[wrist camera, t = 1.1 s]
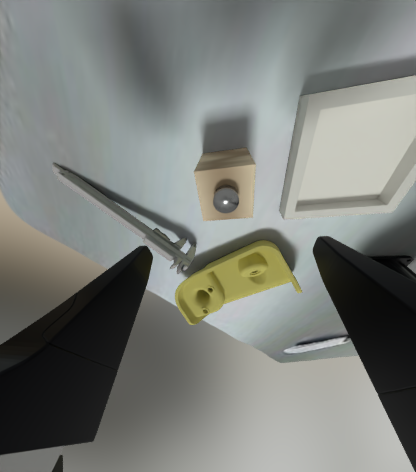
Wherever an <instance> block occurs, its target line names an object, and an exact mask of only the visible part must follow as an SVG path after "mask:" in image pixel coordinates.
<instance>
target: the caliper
mask: <svg viewBox="0 0 416 472" xmlns="http://www.w3.org/2000/svg"><path fill="white" fill-rule="evenodd" d="M53 172H54V173H55V174H56V175H57V179H58V180H59V181H61V182H62V183H64V184H65V185H66V186H68V187H69V188H71V189H72V190H74V191H75V192H76V193H78V194H79V195H81V196H82V197H84V198H85V199H86V200H88V201H89V202H91V203H92V204H93V205H95V206H96V207H98V208H99V209H101V210H102V211H104V212H105V213H106V214H108V215H109V216H111V217H112V218H114V219H115V220H116V221H118V222H119V223H121V224H122V225H124V226H125V227H126V228H128V229H129V230H131V231H132V232H134V233H135V234H136V235H138V236H139V237H141V238H142V239H144V241H143V242H144V243H145V244H146V245H148V246H149V247H151V248H152V249H153V250H155V251H156V252H158V253H159V254H160V255H162V256H163V257H165V258H166V259H167V260H169V261H172V260H174V264H173V265H172V266H171V267H170V269H172V268H175V267H176V266H177V265H178V264H179V265H178V267H177V274H179V273H180V272H181V271H182V269H183V270H184V271H185V270H186V269H187V268H188V267H189V266H190V264H191V262H192V261H193V259H194V256H195V251H196V244H195V243H194V244H193V245H192V246H191V247H190V249H189V250H188V252H187V253H186V254H185V253H183V252H182V251H181V250H180V249H181V248H182V247H183V245H184V244H185V243H186V240H187V238H183V239H181V240H179V241H177V242H175V243H173V242H171V241H170V239H169V238H168V237H167V236H166V235H165V234H163V233H162V232H160V230H159V229H157V228H155V229H154V230H152V229H150V228H149V227H148V226H146V225H145V224H143V223H142V222H141V221H139V220H138V219H136V218H135V217H134V216H132V215H131V214H129V213H128V212H127V211H125V210H124V209H122V208H121V207H120V206H118V205H117V204H116V203H114V202H113V201H111V200H110V199H109V198H107V197H106V196H105V195H103V194H102V193H100V192H99V191H98V190H96V189H95V188H94V187H92V186H91V185H89V184H88V183H87V182H85V181H84V180H83V179H81V178H79V177H78V176H76V175H74V174H72V173H71V172H69V171H67V170H64V169H62V168H61V167H60V166H58V165H57V164H55V163H53Z"/></svg>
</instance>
